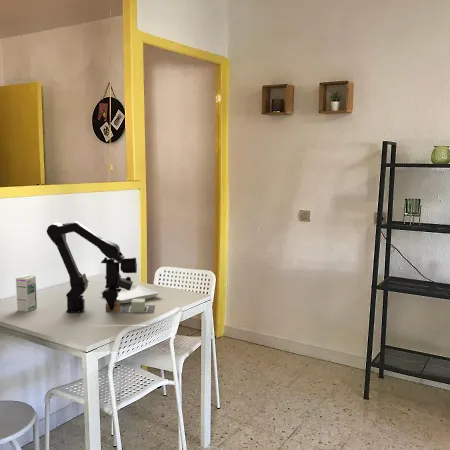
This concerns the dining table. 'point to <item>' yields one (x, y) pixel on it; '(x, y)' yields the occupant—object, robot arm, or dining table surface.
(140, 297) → the salad plate
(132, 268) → the robot arm
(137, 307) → the sage block
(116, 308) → the walnut block
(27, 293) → the syrup box
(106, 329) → the dining table surface
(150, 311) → the mat
